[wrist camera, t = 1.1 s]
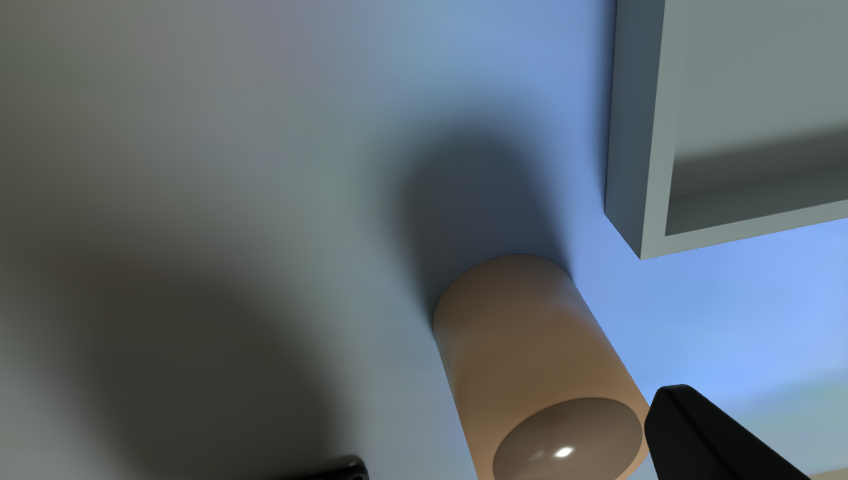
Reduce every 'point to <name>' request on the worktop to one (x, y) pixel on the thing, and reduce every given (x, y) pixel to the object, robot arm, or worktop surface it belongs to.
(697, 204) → the tray
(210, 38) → the worktop surface
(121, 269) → the worktop surface
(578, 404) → the terracotta cup
